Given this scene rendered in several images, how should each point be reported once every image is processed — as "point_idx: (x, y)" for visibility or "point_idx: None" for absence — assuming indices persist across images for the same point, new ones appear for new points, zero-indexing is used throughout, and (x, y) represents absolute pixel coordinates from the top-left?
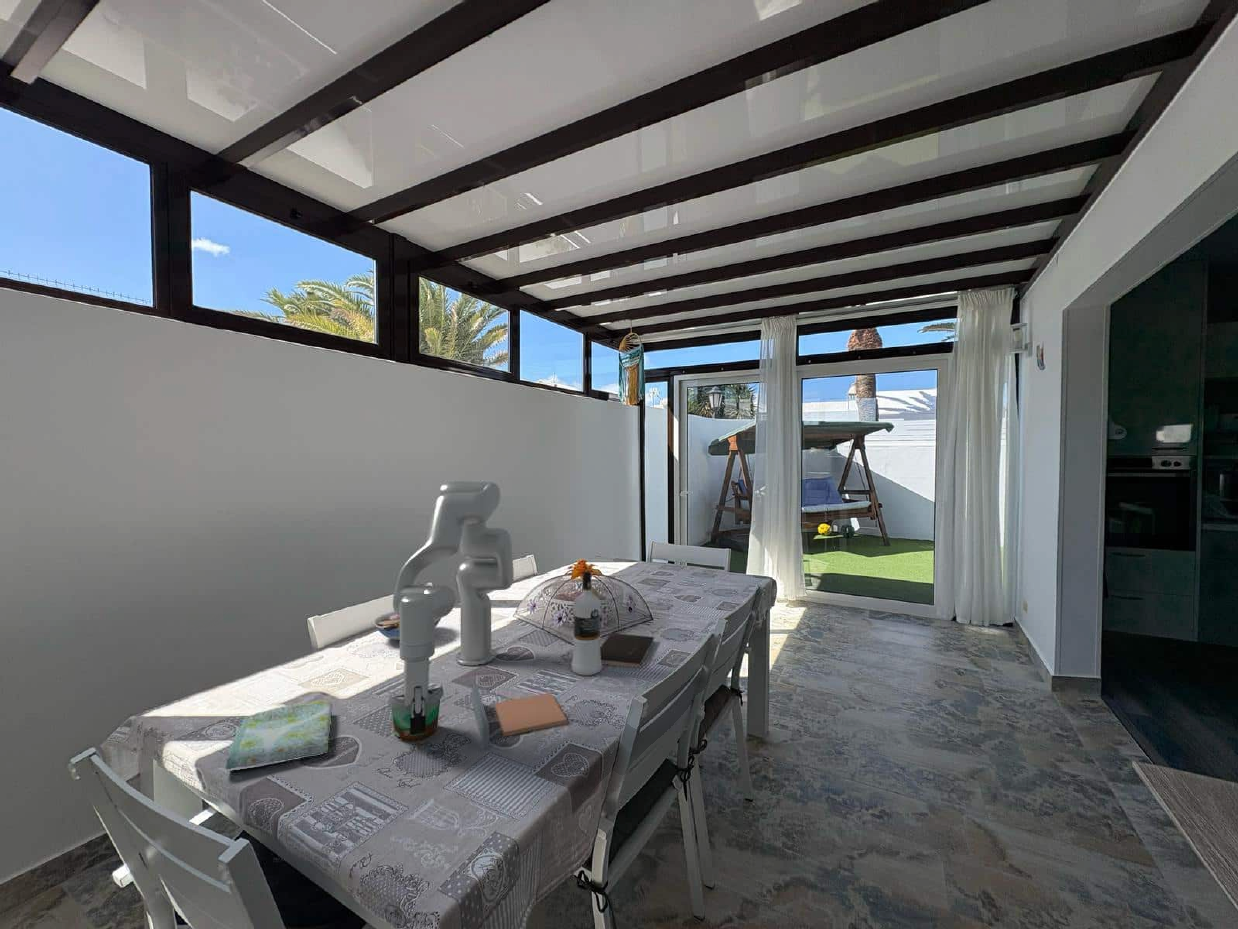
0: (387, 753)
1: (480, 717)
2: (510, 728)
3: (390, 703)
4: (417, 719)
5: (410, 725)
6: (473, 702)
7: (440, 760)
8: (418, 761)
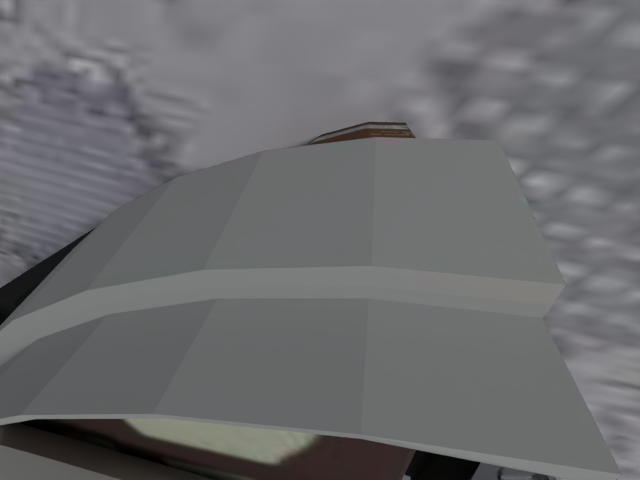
0: (185, 31)
1: None
2: None
3: (214, 196)
4: None
5: (67, 247)
6: (407, 477)
7: None
8: (70, 179)
